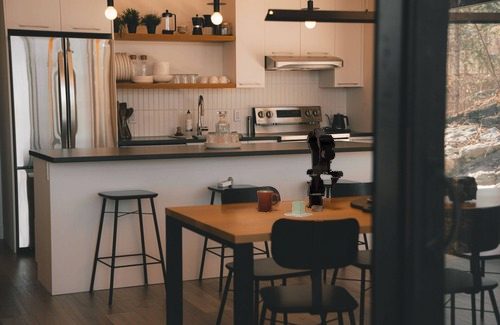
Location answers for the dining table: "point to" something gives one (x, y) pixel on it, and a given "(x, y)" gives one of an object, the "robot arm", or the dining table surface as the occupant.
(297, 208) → the sage block
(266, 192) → the mug
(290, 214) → the trivet
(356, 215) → the dining table surface
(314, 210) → the walnut block
